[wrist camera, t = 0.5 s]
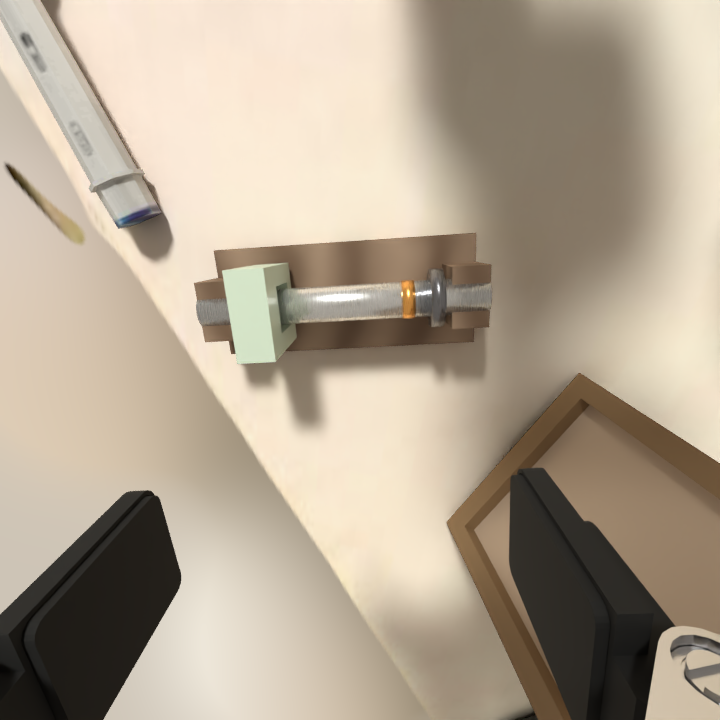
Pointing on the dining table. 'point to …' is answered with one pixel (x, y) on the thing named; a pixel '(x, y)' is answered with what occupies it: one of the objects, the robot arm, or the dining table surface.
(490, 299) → the steel pipe
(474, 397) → the dining table surface
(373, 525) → the dining table surface
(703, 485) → the photo frame
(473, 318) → the walnut base
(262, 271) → the sage collar
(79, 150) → the grey handheld flashlight
